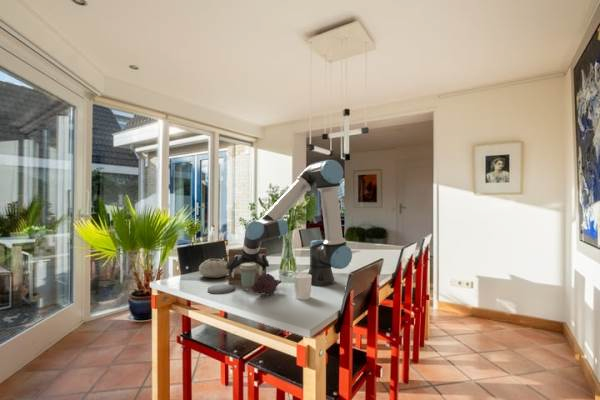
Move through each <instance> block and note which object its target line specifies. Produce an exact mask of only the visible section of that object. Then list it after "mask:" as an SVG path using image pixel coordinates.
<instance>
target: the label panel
mask: <svg viewBox="0 0 600 400" xmlns="http://www.w3.org/2000/svg"><path fill="white" fill-rule="evenodd" d="M242 251H243V248H229V249H228V262H229V261H230V260H231V259H232V258H233V257H234V255H235V253H237V254H238V255H241V254H242ZM262 252H264V255H265V257H266V258H267V247H260V249H259V254H262ZM239 259H240V258H239ZM259 259H260V260H262V259H261V258H260V257H259ZM262 261H263V260H262ZM245 263H255V262H254V261H253V262H245ZM255 264H256V266H257V268H256V275H255V282H256V280H257V278H258V277H259V276H260V275H259V269H260V265H259V264H257V263H255ZM240 266H241V264H240V265H239V266H237V267H236V268H235V271H234V277H232V273H230V269H229V274H227V275H228V278H227V279H228V281H227V282H228V283H227V284H229V285H242V280H241V270H240ZM265 268H266V269H264V271H262V274H261V275H263V274H267V266H266V267H265Z"/></svg>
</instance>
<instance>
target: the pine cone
mask: <svg viewBox="0 0 600 400" xmlns="http://www.w3.org/2000/svg"><path fill="white" fill-rule="evenodd" d="M281 283H282V280H279V279H275V277H274V276H273V275H272V274H270V273H266V274H263V275H260V276H259V277H258V278H257V280H256V282H255V283H254V284H253V286H252V287H251V289H250V290H251V292H252V293H253V292H254V294H265V296H267V295H268V296H270V295H273V294H274V293H276V292H275V291H277V287H278V285H280V284H281Z"/></svg>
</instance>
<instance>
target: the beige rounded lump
mask: <svg viewBox="0 0 600 400" xmlns="http://www.w3.org/2000/svg"><path fill="white" fill-rule="evenodd" d="M228 262H229V261H228ZM228 262H227V261H226V260H224V259H222V258H208V259H206V260H204V261H203V262H201V263H200V265H199V266H198V272H199V274H200V275H202V276H203V277H204V278H213V279H217V278H223V277H225V276H227V275H229V269H227V263H228Z"/></svg>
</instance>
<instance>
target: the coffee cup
mask: <svg viewBox="0 0 600 400" xmlns="http://www.w3.org/2000/svg"><path fill="white" fill-rule="evenodd" d="M256 268H257V266H256V264H255V263H243V264H241V266H240V270H241V280H242V284H241V286H242V289H243V290H252V289H251V287H252V286H253V284H254V283H255V275H256Z"/></svg>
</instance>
